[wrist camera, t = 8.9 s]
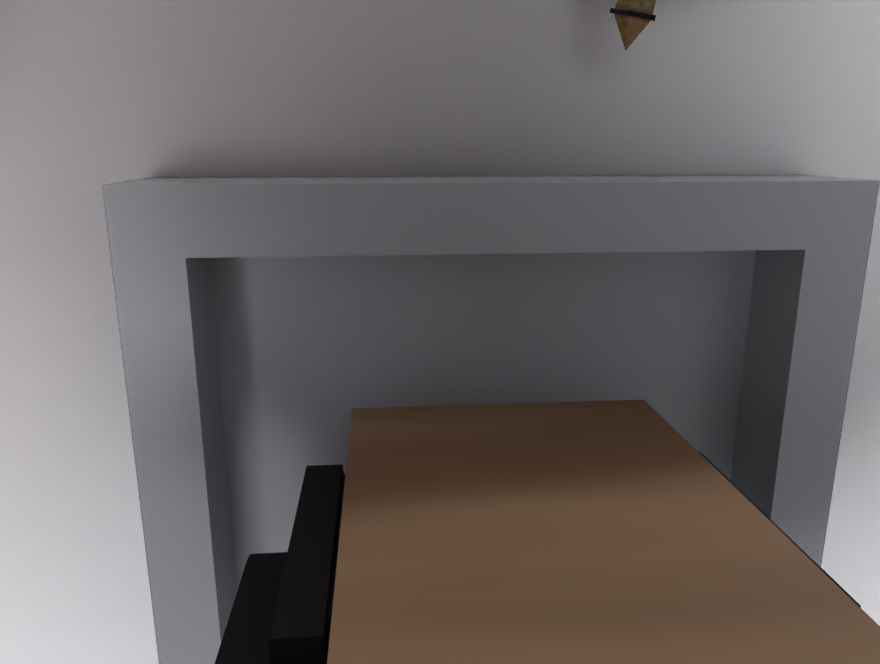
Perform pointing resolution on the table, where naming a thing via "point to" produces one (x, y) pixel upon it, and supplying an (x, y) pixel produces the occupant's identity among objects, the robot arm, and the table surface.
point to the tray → (466, 335)
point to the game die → (632, 18)
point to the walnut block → (566, 547)
